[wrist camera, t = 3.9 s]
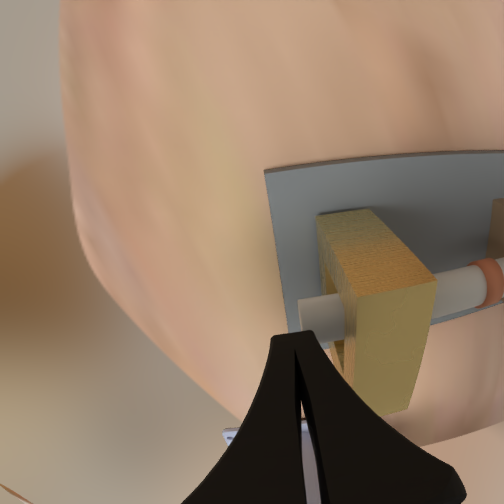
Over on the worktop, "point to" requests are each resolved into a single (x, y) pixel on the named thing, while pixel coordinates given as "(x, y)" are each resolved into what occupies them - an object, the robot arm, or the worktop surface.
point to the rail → (394, 227)
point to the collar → (376, 306)
